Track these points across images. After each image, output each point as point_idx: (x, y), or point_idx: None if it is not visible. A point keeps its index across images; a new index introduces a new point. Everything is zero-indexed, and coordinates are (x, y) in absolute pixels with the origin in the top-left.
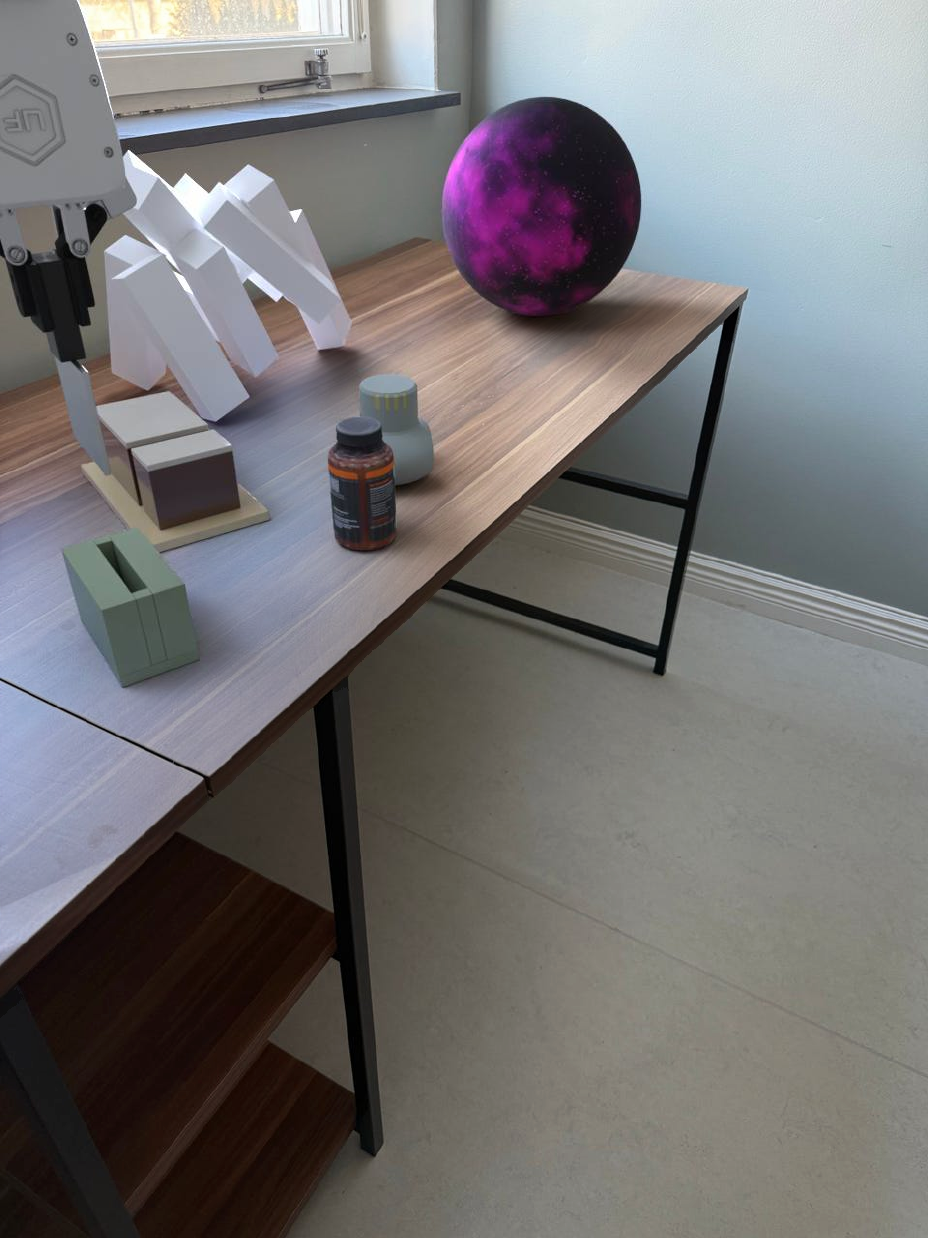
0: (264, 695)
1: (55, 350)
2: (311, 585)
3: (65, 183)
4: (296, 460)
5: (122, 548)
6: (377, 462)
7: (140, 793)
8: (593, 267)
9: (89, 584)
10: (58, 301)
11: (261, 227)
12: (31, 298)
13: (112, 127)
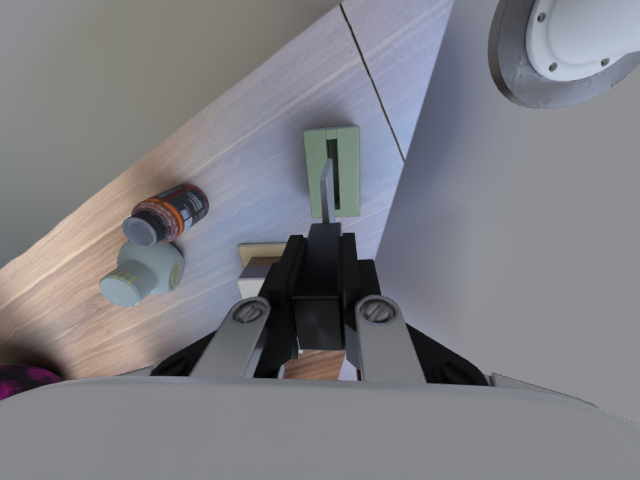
0: (286, 70)
1: None
2: (233, 169)
3: (144, 446)
4: (213, 292)
5: None
6: (143, 203)
7: (377, 9)
8: None
9: (357, 163)
10: (322, 258)
11: None
12: (359, 270)
13: None
